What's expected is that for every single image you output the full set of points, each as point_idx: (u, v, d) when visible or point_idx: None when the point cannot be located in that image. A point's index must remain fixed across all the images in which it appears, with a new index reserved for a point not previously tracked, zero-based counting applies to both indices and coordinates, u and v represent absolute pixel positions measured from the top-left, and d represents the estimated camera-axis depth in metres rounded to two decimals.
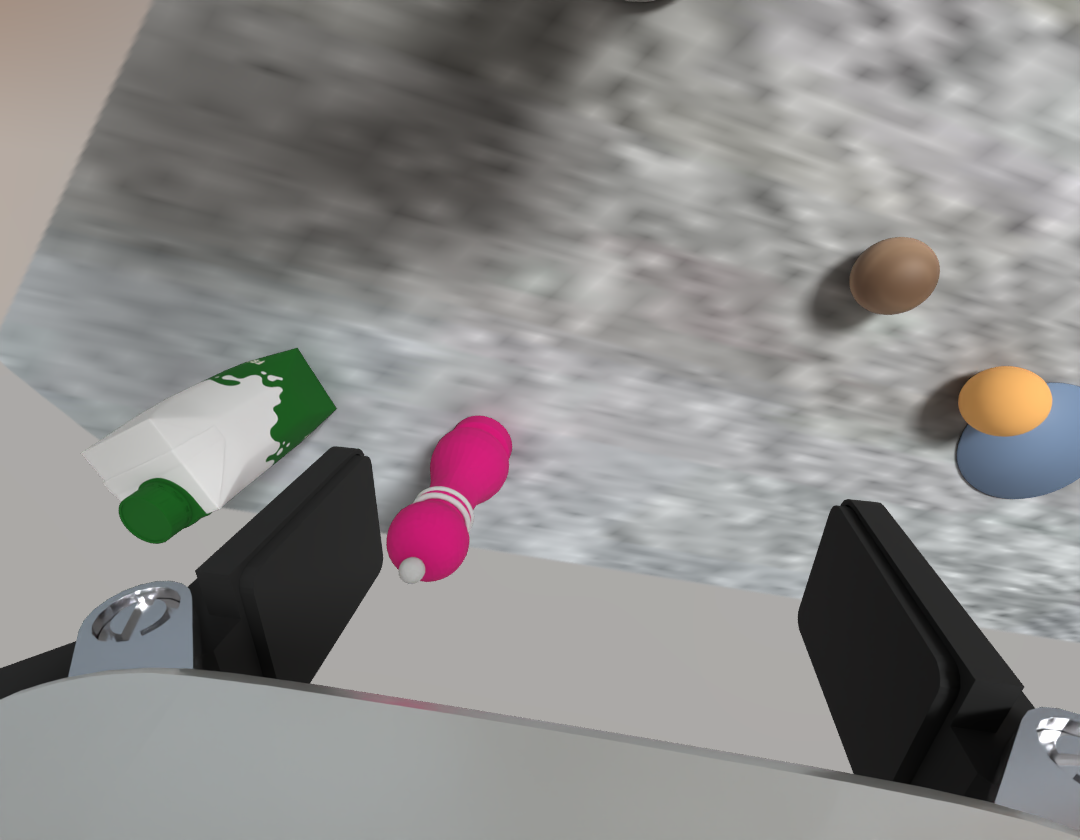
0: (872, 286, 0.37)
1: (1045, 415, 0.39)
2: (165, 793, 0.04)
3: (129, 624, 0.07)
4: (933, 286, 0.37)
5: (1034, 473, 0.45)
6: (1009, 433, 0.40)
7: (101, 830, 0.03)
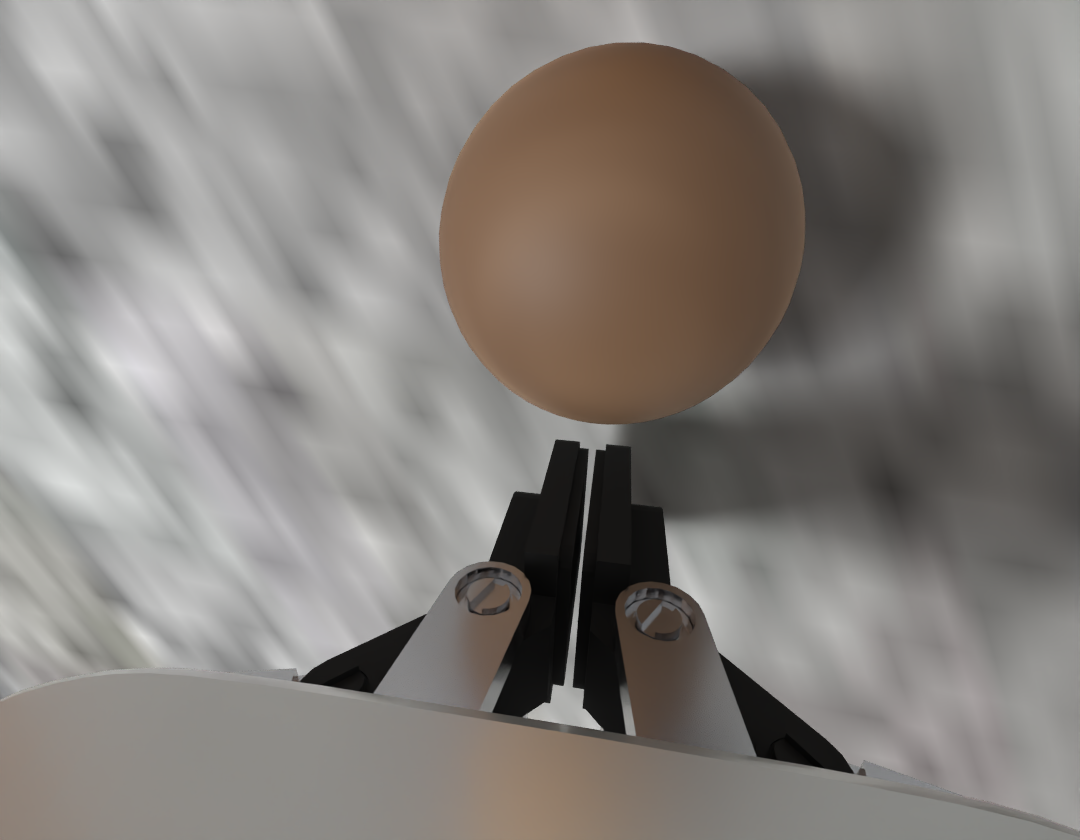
0: None
1: None
2: (165, 793, 0.04)
3: (482, 600, 0.07)
4: None
5: None
6: None
7: (101, 830, 0.03)
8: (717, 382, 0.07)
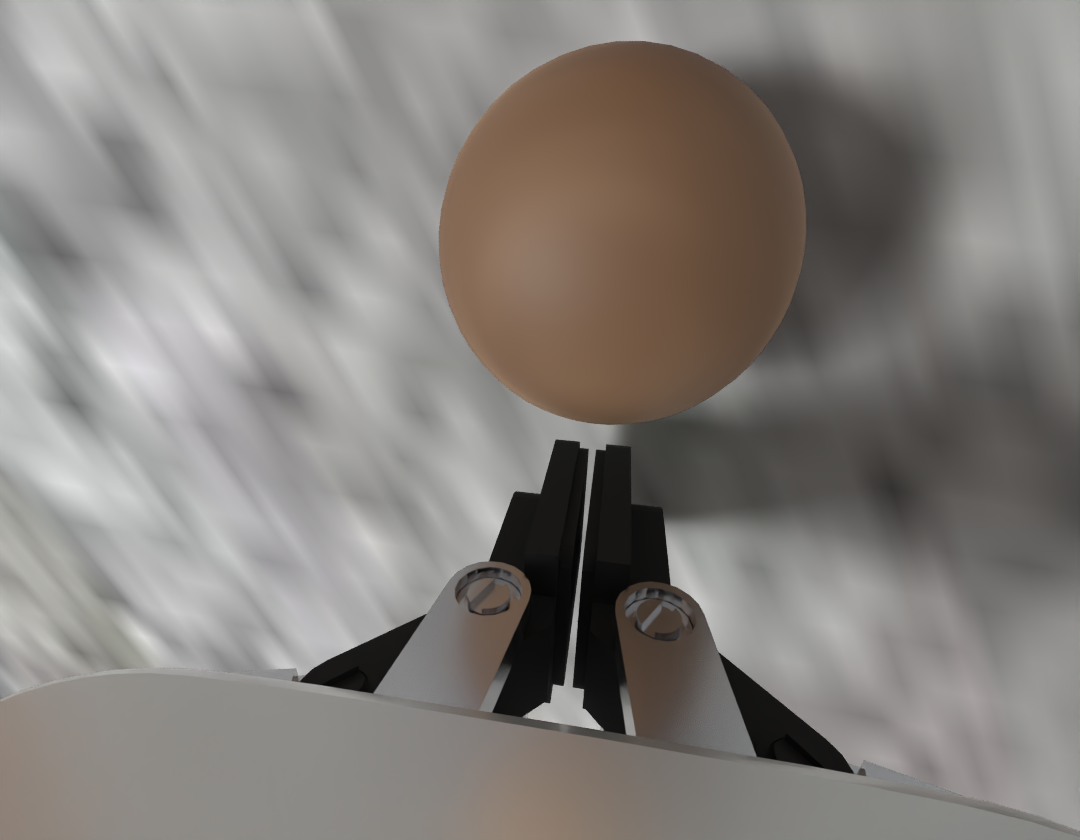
0: None
1: None
2: (165, 793, 0.04)
3: (482, 600, 0.07)
4: None
5: None
6: None
7: (101, 830, 0.03)
8: (718, 382, 0.07)
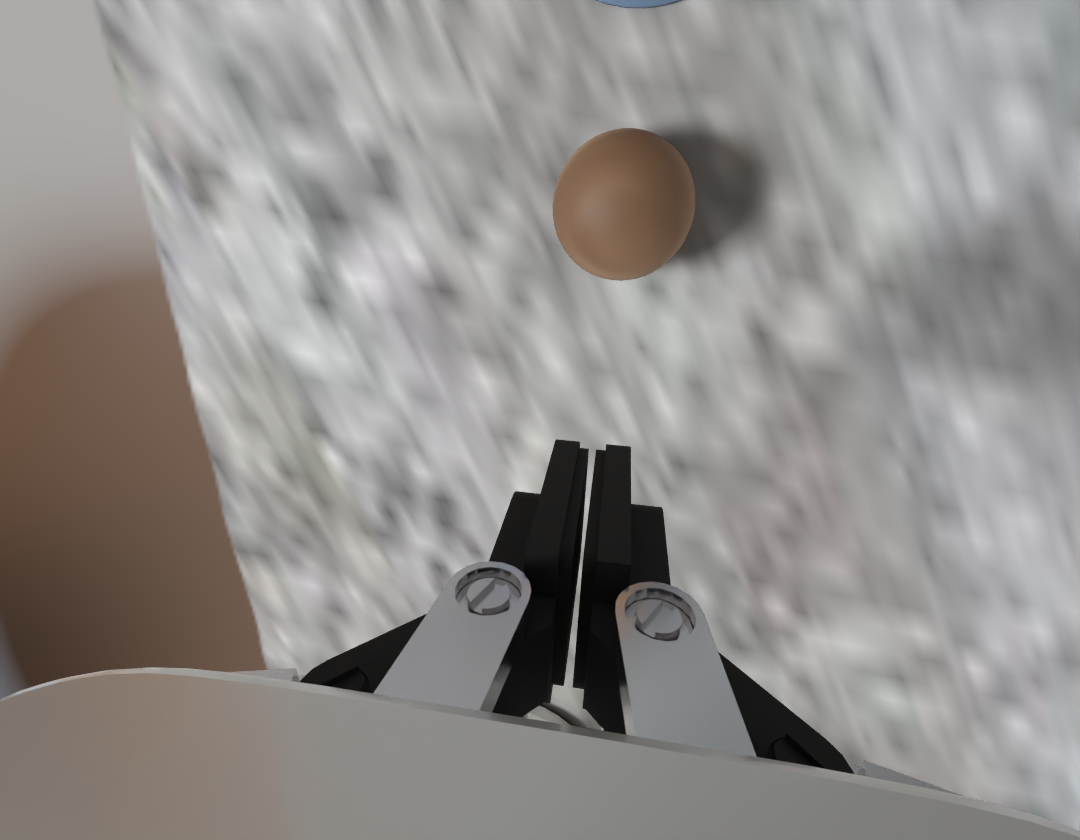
0: None
1: None
2: (165, 793, 0.04)
3: (482, 600, 0.07)
4: None
5: None
6: None
7: (101, 830, 0.03)
8: (662, 253, 0.19)
